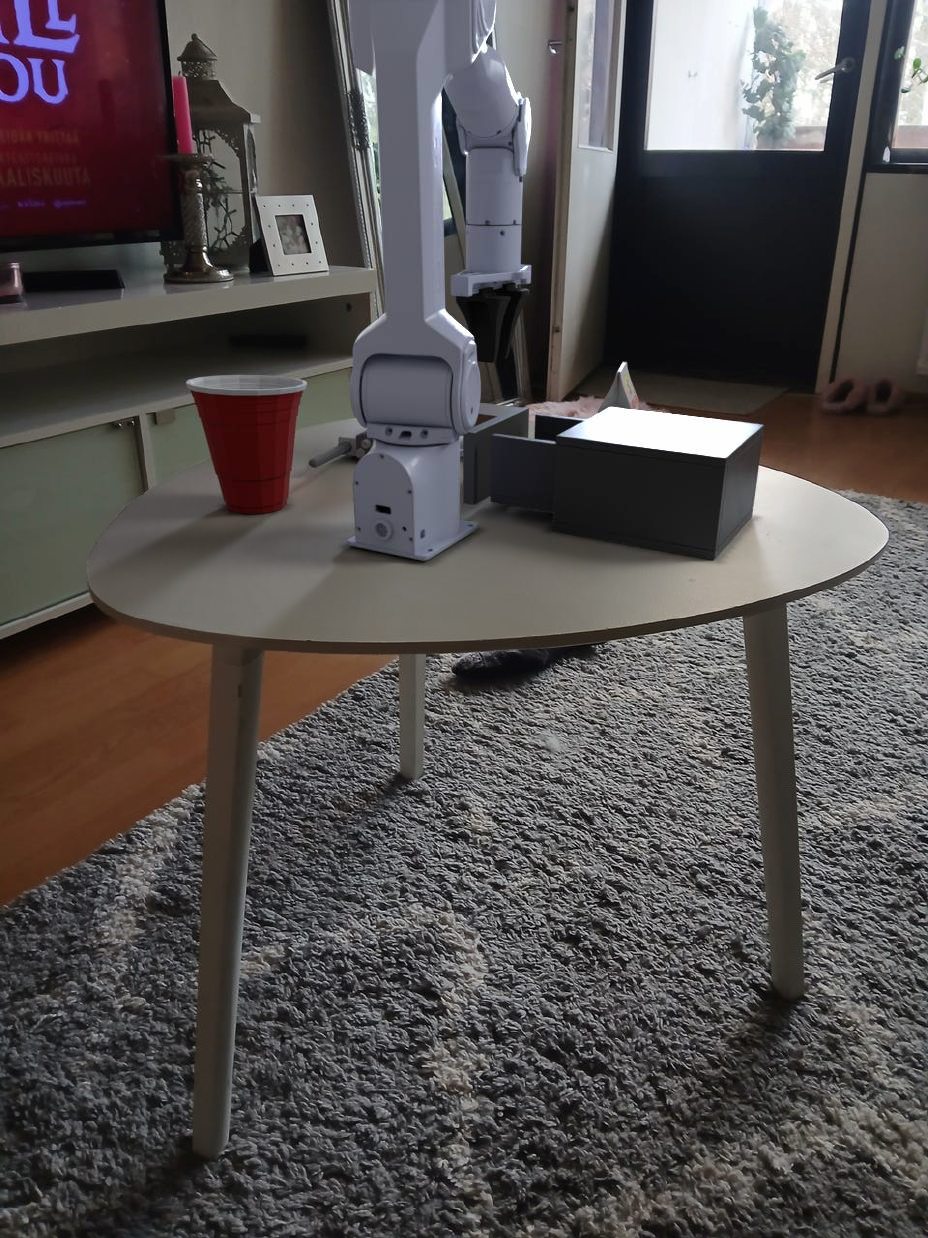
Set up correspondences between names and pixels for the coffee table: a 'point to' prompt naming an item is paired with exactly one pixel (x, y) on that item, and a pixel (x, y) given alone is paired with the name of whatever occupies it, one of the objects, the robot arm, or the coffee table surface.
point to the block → (490, 412)
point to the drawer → (512, 459)
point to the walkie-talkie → (346, 447)
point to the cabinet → (656, 480)
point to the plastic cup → (250, 436)
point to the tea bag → (621, 392)
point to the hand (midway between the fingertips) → (491, 359)
